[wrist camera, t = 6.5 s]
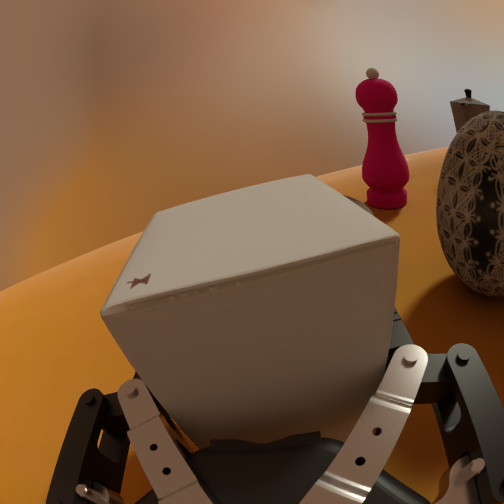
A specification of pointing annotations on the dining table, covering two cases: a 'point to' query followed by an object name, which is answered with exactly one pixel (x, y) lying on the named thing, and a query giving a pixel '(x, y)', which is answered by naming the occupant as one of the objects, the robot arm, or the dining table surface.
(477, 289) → the decorative egg
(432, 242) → the dining table surface
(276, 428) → the supplement box
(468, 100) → the coffeepot
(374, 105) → the pepper mill
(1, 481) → the dining table surface
